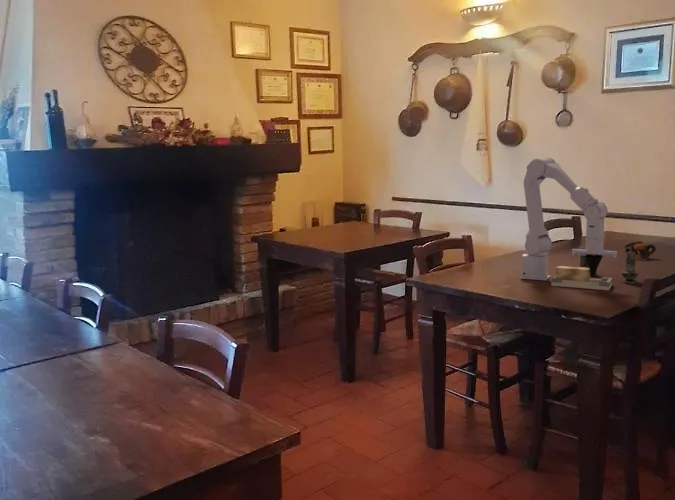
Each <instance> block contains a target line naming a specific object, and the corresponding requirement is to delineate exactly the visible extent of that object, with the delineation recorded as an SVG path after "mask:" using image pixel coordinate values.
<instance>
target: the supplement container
mask: <svg viewBox="0 0 675 500" xmlns="http://www.w3.org/2000/svg"><path fill="white" fill-rule="evenodd" d="M579 249H586V245H585V246H584V245H583V246H579ZM597 255H600V254H597ZM578 267H583V268H589V265H588V263H587V261H586V256H585V255H579V265H578ZM598 274H599V267H598V268H597V271H596V276H598ZM590 277H591V272H590Z"/></svg>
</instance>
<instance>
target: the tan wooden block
mask: <svg viewBox="0 0 675 500" xmlns="http://www.w3.org/2000/svg"><path fill="white" fill-rule="evenodd" d="M555 274H556V278H563V280H573V281H586V282H590V278H591V276H590V268H583V267H579V266H564V265H557V266H556V267H555Z"/></svg>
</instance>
